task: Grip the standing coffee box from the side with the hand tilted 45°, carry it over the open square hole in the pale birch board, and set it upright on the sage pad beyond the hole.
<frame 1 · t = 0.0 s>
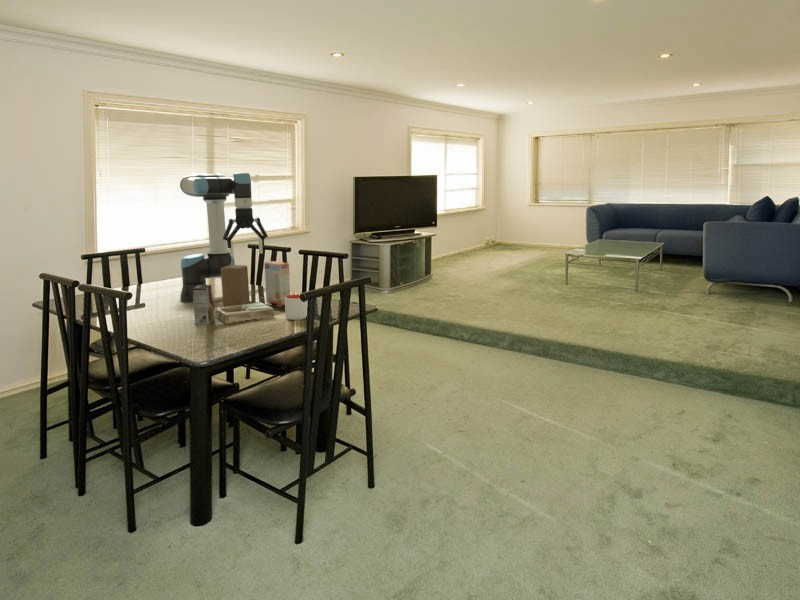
hand: (246, 254, 269), 28 cm above the table, tool pointing down, fingers open, 13 cm apart
coffee box: (204, 322, 259), on the table
wooden block: (236, 306, 291), on the table
cup: (296, 318, 265), on the table
hole board: (244, 316, 269), on the table
cracker box: (278, 303, 298), on the table
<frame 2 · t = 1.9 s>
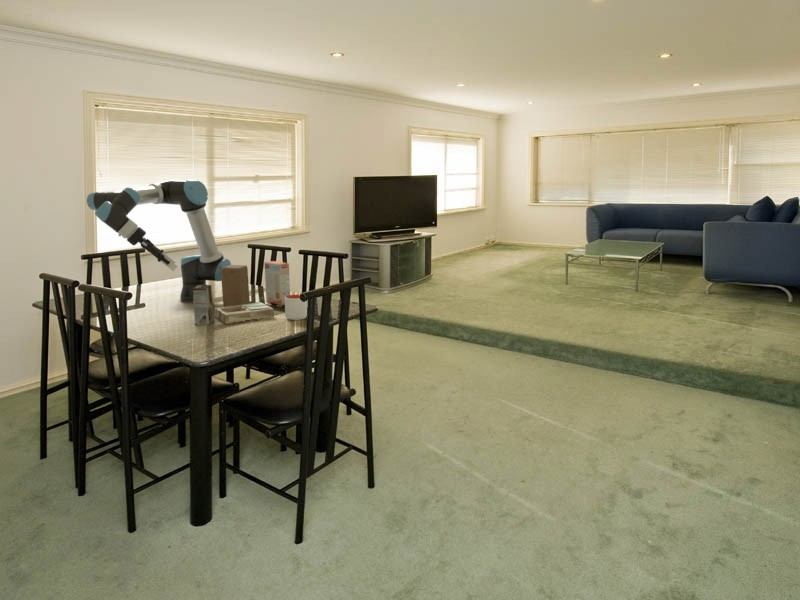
hand: (174, 266, 250), 26 cm above the table, tool tilted 45°, fingers open, 13 cm apart
nothing on the table moved.
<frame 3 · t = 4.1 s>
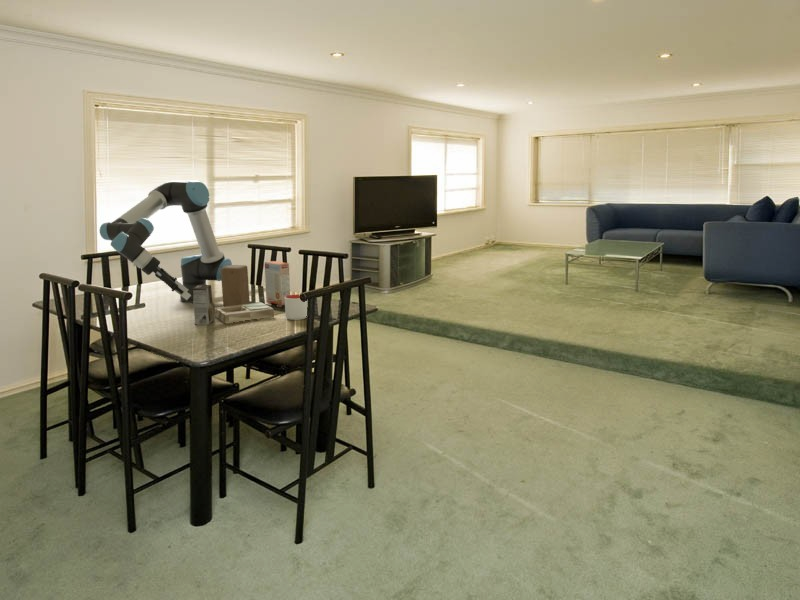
hand: (187, 294, 253), 13 cm above the table, tool tilted 45°, fingers open, 13 cm apart
nothing on the table moved.
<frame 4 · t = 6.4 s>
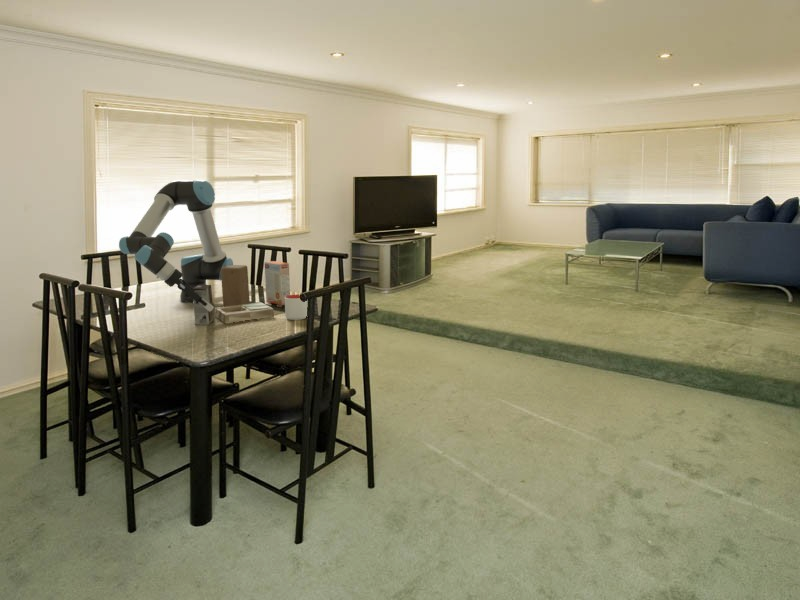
hand: (210, 307, 259), 7 cm above the table, tool tilted 45°, fingers closed on coffee box, 10 cm apart
coffee box: (204, 322, 259), on the table, touching gripper
everything else where it was.
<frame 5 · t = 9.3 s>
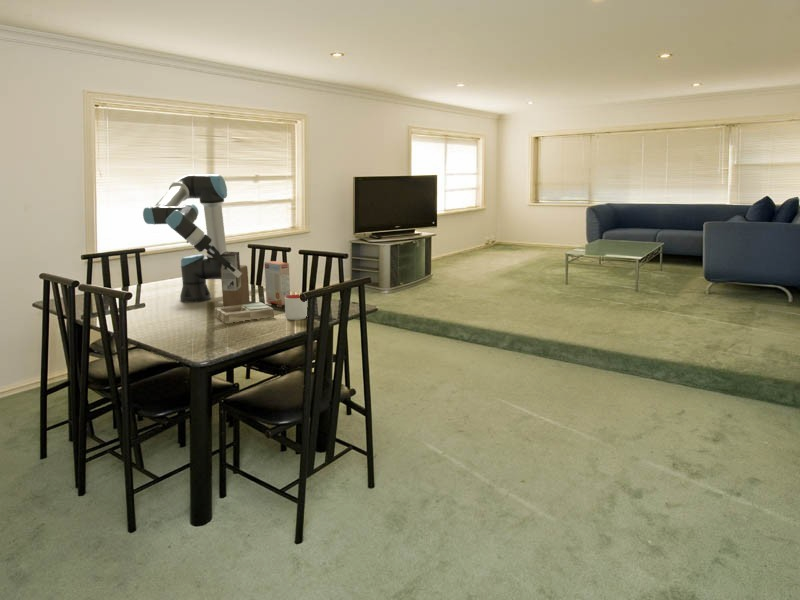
hand: (238, 273, 261), 20 cm above the table, tool tilted 45°, fingers closed on coffee box, 10 cm apart
coffee box: (232, 289, 262), point 14 cm above the table, touching gripper
everything else where it was.
when the fingers open (12 cm above the table, at t = 12.1 s): coffee box drops 1 cm, resting on hole board.
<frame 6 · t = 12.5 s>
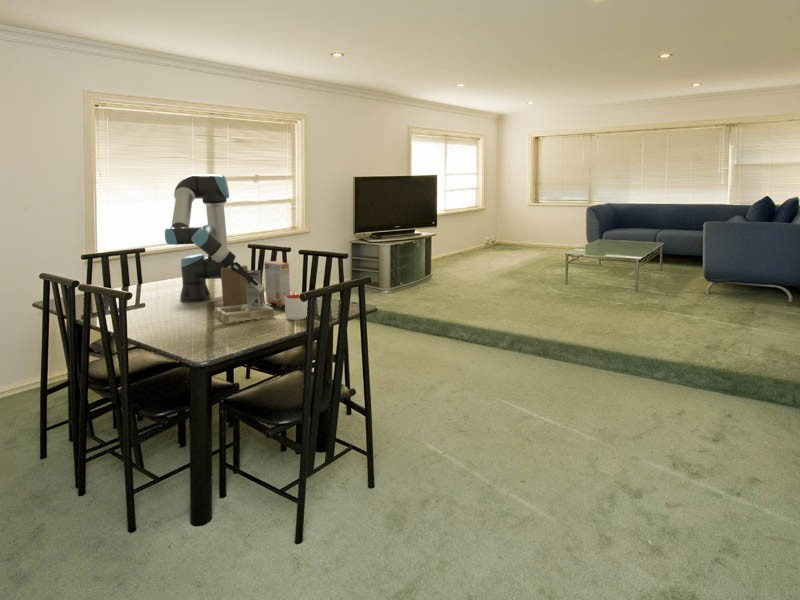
hand: (259, 287, 270), 13 cm above the table, tool tilted 45°, fingers open, 13 cm apart
coffee box: (255, 306, 270), point 4 cm above the table, touching hole board
everything else where it was.
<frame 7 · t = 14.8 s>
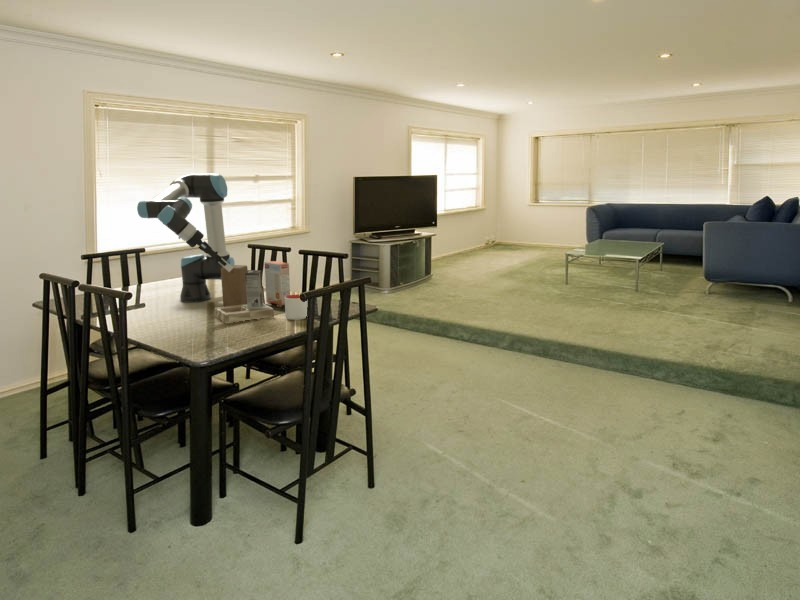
hand: (228, 267, 263), 23 cm above the table, tool tilted 45°, fingers open, 13 cm apart
nothing on the table moved.
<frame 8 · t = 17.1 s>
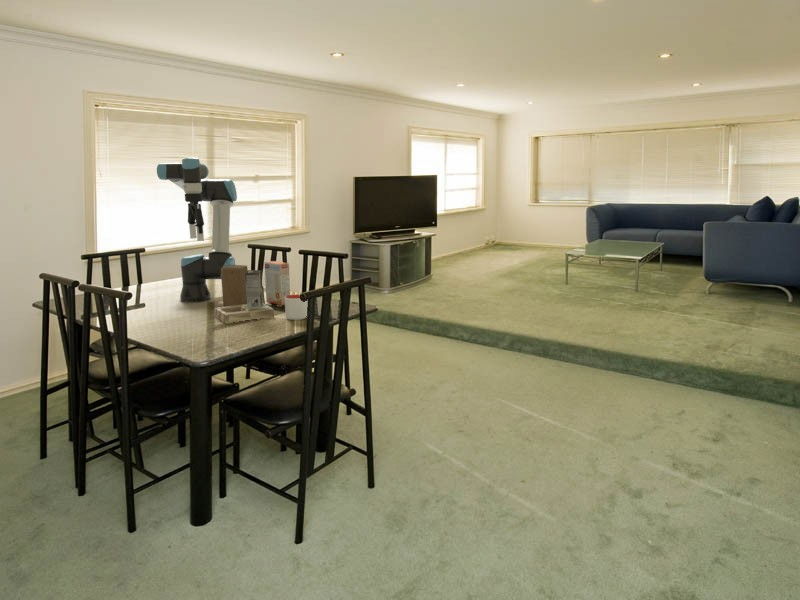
hand: (197, 239, 270), 35 cm above the table, tool pointing down, fingers open, 13 cm apart
nothing on the table moved.
at the end: coffee box inside the target area on the hole board (1.1 cm from its centre), point 4.2 cm above the hole board's base; coffee box tilted 0°; the gripper is holding nothing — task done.
